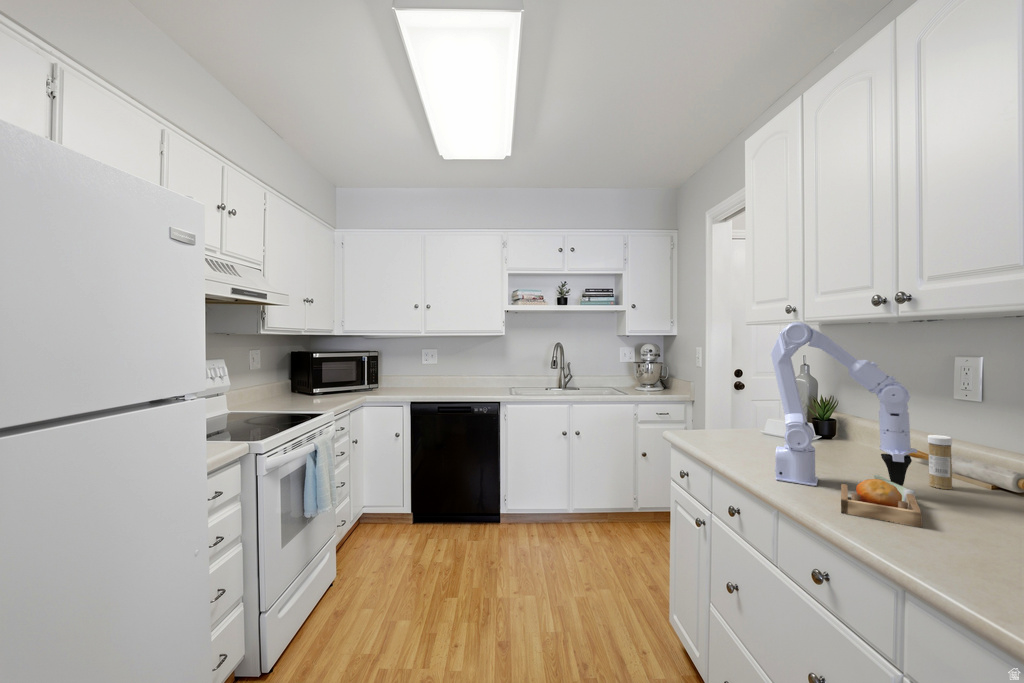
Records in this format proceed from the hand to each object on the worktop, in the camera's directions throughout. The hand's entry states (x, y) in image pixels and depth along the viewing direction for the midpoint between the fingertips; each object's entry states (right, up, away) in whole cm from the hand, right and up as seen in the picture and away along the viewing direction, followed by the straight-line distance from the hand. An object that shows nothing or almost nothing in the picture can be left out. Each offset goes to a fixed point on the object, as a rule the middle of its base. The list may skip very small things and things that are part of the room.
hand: (897, 484), depth 109 cm
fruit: (-13, -3, -9) cm, 16 cm away
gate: (-2, -3, -1) cm, 3 cm away
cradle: (-13, -3, -9) cm, 16 cm away
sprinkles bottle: (+16, -3, +5) cm, 17 cm away
